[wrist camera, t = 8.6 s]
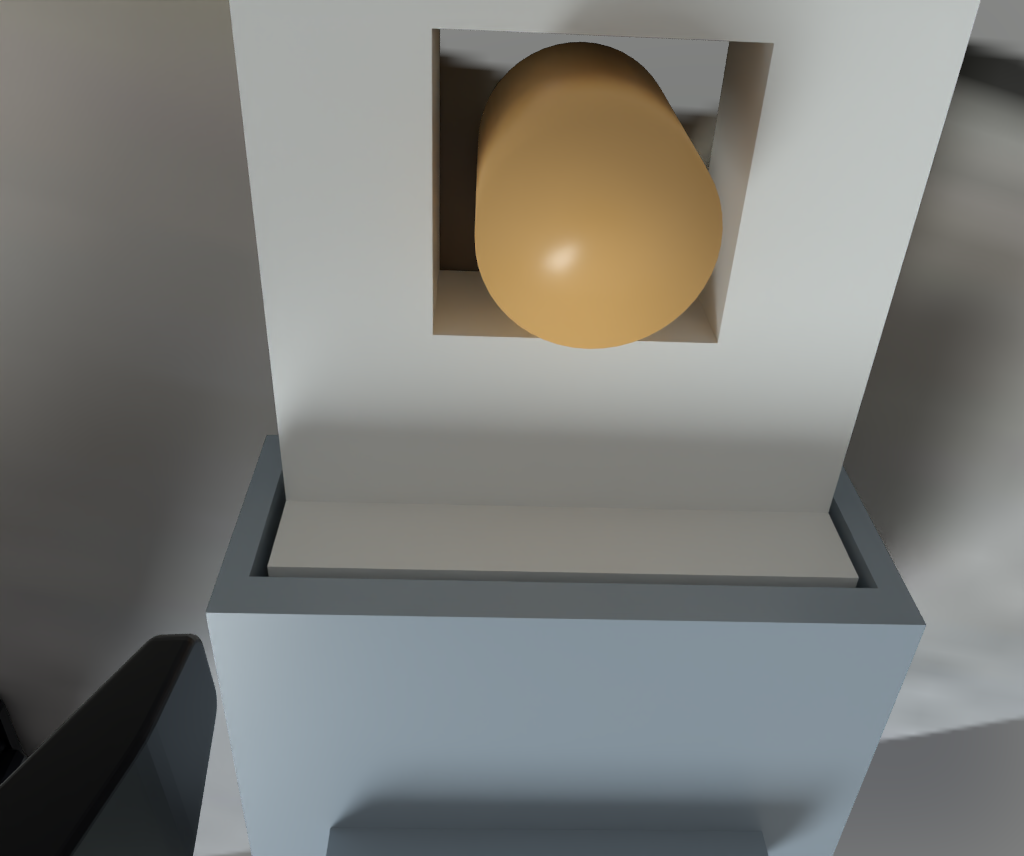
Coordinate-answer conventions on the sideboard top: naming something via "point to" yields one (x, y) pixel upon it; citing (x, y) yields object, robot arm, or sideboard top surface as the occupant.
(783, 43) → the housing
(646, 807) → the cabinet
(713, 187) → the rounded peg
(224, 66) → the sideboard top surface
